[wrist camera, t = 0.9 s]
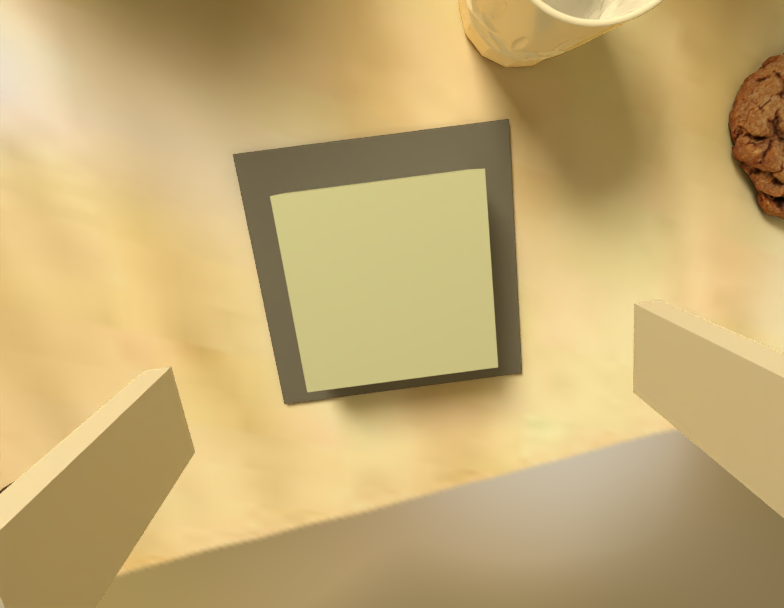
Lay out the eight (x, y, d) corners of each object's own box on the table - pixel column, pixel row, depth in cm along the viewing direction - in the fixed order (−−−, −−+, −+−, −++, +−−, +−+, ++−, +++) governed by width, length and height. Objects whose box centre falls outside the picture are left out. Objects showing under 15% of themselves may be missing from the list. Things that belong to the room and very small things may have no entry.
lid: (315, 364, 30) (307, 392, 27) (284, 193, 28) (270, 196, 24) (482, 342, 31) (498, 367, 27) (469, 169, 28) (484, 168, 24)
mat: (285, 402, 31) (284, 404, 31) (234, 154, 27) (232, 154, 27) (520, 371, 32) (521, 373, 31) (507, 119, 27) (508, 118, 27)
